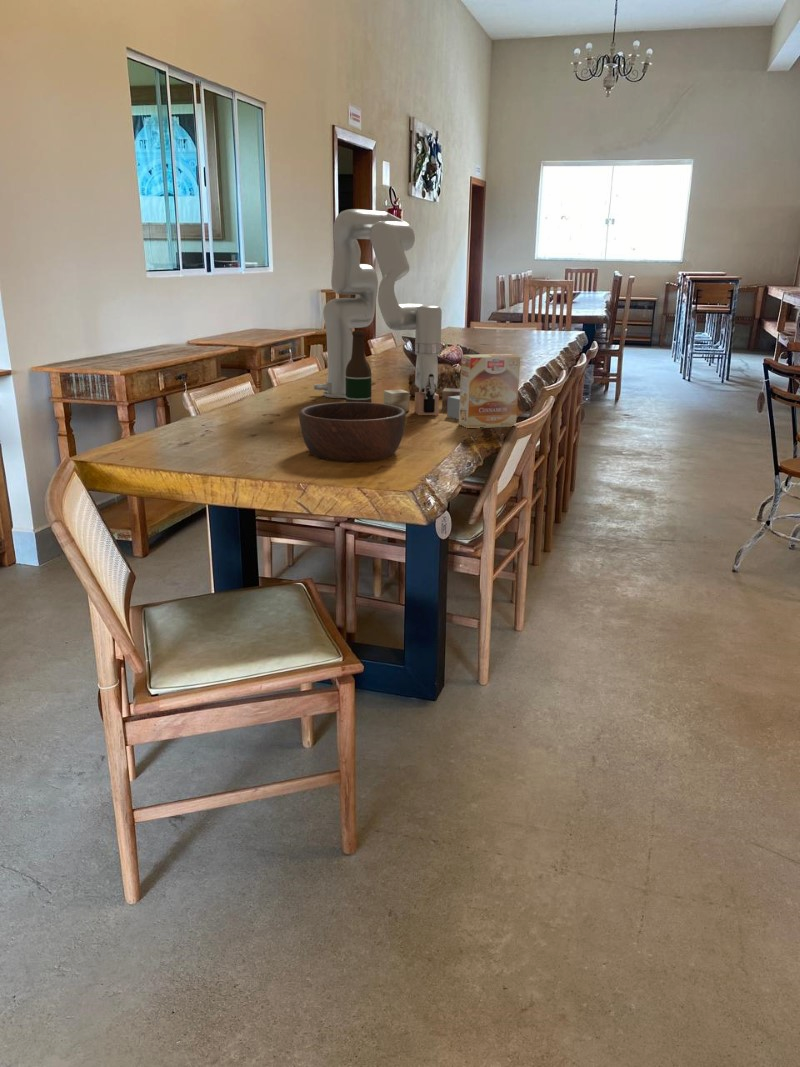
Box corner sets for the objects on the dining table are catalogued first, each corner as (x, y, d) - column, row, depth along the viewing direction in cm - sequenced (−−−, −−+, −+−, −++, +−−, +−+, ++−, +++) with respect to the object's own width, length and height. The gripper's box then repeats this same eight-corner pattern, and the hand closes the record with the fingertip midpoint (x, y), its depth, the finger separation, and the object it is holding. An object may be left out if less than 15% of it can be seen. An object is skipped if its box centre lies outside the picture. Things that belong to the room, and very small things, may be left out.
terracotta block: (418, 415, 235) (419, 395, 233) (414, 412, 241) (414, 392, 239) (438, 415, 236) (438, 395, 234) (433, 411, 242) (434, 392, 240)
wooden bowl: (349, 437, 205) (349, 398, 202) (426, 452, 190) (427, 410, 187) (277, 454, 187) (276, 410, 184) (356, 471, 172) (355, 425, 169)
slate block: (460, 420, 230) (460, 399, 228) (446, 417, 234) (447, 396, 232) (475, 418, 233) (476, 397, 231) (462, 415, 238) (463, 395, 236)
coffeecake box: (467, 429, 217) (470, 357, 211) (457, 424, 223) (460, 354, 217) (517, 426, 221) (521, 355, 215) (506, 422, 228) (509, 352, 222)
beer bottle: (373, 410, 242) (373, 330, 234) (369, 415, 234) (369, 332, 227) (347, 410, 242) (347, 329, 235) (343, 414, 235) (342, 331, 227)
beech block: (391, 413, 239) (391, 393, 237) (383, 410, 244) (383, 390, 242) (409, 412, 241) (409, 392, 239) (401, 408, 246) (401, 389, 244)
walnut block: (441, 410, 245) (442, 391, 243) (443, 407, 250) (444, 388, 248) (461, 411, 244) (462, 391, 242) (462, 408, 249) (463, 388, 247)
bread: (435, 390, 284) (436, 362, 280) (461, 393, 278) (462, 364, 275) (406, 396, 269) (407, 367, 266) (433, 400, 263) (434, 369, 260)
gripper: (409, 346, 240) (408, 405, 245) (421, 352, 224) (420, 415, 229) (433, 346, 241) (431, 405, 247) (447, 352, 225) (445, 415, 231)
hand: (426, 409), depth 238 cm, fingers closed on terracotta block, 6 cm apart
